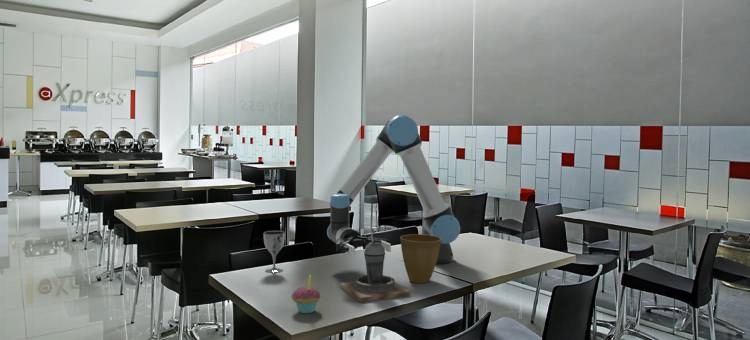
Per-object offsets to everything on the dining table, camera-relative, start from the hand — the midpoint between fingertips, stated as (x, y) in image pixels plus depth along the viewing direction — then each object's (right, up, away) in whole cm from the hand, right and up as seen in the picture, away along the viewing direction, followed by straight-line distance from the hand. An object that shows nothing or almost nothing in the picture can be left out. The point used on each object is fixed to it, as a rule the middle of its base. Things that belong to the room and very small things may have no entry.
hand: (372, 249), depth 178 cm
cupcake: (-20, -15, -21) cm, 33 cm away
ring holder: (+1, -14, -1) cm, 14 cm away
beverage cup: (+1, -13, -1) cm, 13 cm away
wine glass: (-38, -12, +25) cm, 48 cm away
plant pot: (+18, -14, +13) cm, 26 cm away
